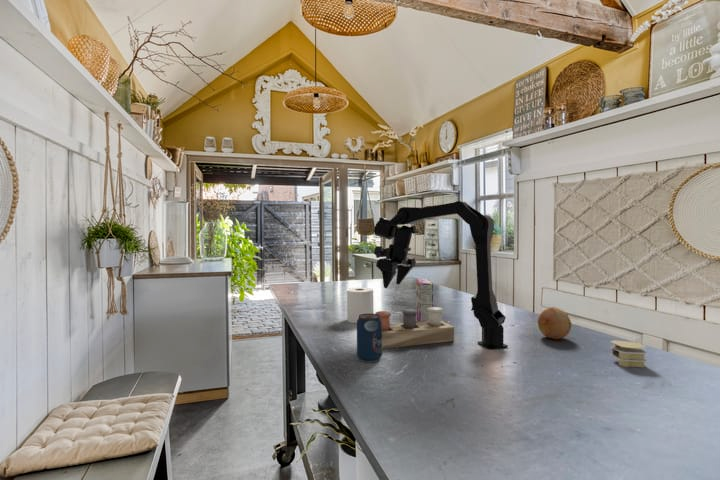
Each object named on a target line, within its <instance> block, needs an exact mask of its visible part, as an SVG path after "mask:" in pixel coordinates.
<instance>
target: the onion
mask: <svg viewBox="0 0 720 480" xmlns="http://www.w3.org/2000/svg"><path fill="white" fill-rule="evenodd" d="M537 318H538V319H537V326H538V329H539V331H540V332H541V334H542V335H543V336H544V337H546V338H549V339H554V340H560V339H563V338H565V337H567V336H568V335H569V333H571V332H570V331H571V329H572V321H571V318H570V317H569V315H568V314H567V313H566V312H565V311H564V310H562V309H560V308H558V307H555V306H552V307H548V308H546V309H544V310H543V311H541V313H540V314H539V315H538V317H537Z"/></svg>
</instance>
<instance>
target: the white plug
mask: <svg viewBox="0 0 720 480" xmlns="http://www.w3.org/2000/svg"><path fill="white" fill-rule="evenodd" d="M428 311H429V325H430V326H441V321H442V312H443V308H442V307H438V306H437V307H436V306H433V307H430V308H428Z"/></svg>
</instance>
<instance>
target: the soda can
mask: <svg viewBox="0 0 720 480" xmlns="http://www.w3.org/2000/svg"><path fill="white" fill-rule="evenodd" d="M379 317H380V316H379V315H377V314H375V313H373V314H361V315H359V318H358V320H357V323H356V356H357V358H359V360H360V361H361V362H363V363H365V362H366V363H374V362H378V361H380V359H381V357H382V356H383V349H382V322H381V320H380V318H379Z"/></svg>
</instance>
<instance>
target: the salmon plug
mask: <svg viewBox="0 0 720 480" xmlns="http://www.w3.org/2000/svg"><path fill="white" fill-rule="evenodd" d="M374 314H377V315H379V316H380V317H379V318H380V320H381V322H382V331H390V324H391V323H390V318H391V317H390V316H391V315H392V312H391V311H386V310H383V311H382V310H381V311H376V312H375V313H374Z"/></svg>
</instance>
